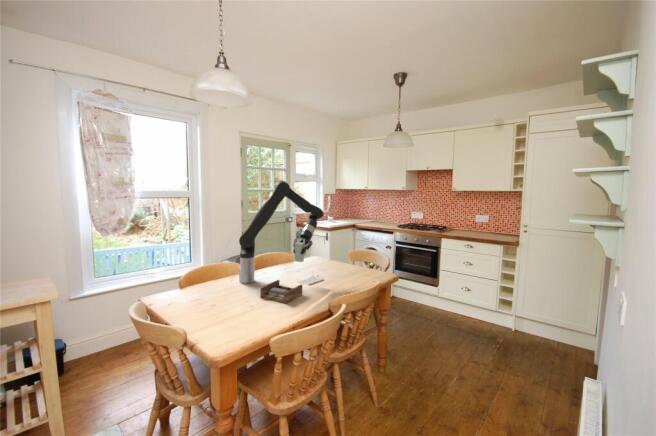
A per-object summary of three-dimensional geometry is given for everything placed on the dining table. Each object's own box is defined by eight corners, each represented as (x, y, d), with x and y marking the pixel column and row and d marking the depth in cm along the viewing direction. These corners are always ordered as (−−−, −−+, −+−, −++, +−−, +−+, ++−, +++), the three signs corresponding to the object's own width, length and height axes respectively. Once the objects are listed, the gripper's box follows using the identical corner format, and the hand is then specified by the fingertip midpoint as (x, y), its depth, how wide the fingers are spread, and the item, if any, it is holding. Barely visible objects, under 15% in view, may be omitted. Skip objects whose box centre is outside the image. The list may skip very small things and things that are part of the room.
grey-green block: (294, 261, 186) (294, 243, 185) (297, 260, 189) (297, 242, 187) (301, 262, 184) (301, 243, 183) (303, 261, 186) (303, 243, 185)
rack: (260, 299, 162) (260, 287, 161) (277, 291, 176) (277, 279, 175) (286, 306, 154) (286, 293, 153) (302, 296, 168) (302, 284, 167)
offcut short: (269, 293, 162) (269, 289, 162) (273, 290, 166) (273, 287, 166) (283, 295, 159) (283, 292, 159) (287, 293, 163) (287, 289, 163)
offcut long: (267, 297, 163) (267, 292, 163) (273, 294, 168) (273, 290, 167) (284, 301, 158) (284, 296, 157) (290, 298, 162) (290, 293, 162)
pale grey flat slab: (278, 288, 183) (291, 293, 175) (278, 284, 182) (291, 288, 175) (310, 277, 207) (323, 281, 199) (310, 273, 206) (323, 276, 199)
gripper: (296, 228, 194) (286, 248, 185) (314, 230, 187) (304, 251, 178) (301, 235, 199) (291, 255, 190) (318, 237, 193) (309, 258, 183)
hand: (297, 253), depth 184 cm, fingers closed on grey-green block, 5 cm apart
